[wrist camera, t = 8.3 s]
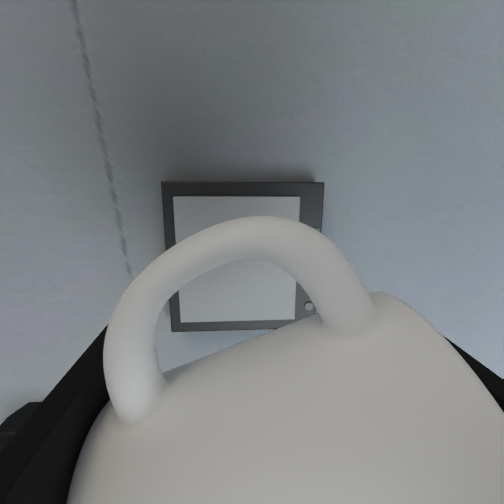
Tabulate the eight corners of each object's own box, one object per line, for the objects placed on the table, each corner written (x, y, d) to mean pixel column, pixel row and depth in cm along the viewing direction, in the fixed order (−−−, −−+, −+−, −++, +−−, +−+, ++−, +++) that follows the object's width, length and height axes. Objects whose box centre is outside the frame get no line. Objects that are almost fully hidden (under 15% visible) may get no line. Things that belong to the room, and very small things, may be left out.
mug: (394, 405, 14) (594, 677, 6) (207, 475, 14) (180, 823, 7) (323, 168, 11) (540, 142, 3) (85, 262, 11) (-232, 445, 4)
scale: (316, 182, 27) (326, 182, 24) (308, 316, 31) (316, 330, 28) (166, 181, 26) (159, 181, 23) (176, 320, 30) (170, 334, 27)
